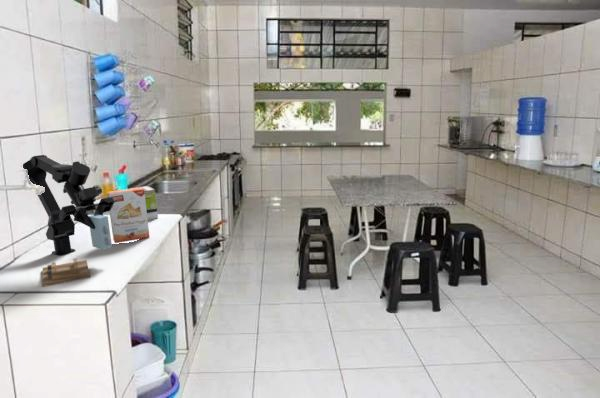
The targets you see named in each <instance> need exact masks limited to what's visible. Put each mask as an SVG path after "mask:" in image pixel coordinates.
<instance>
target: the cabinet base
mask: <svg viewBox="0 0 600 398" xmlns="http://www.w3.org/2000/svg"><path fill="white" fill-rule="evenodd" d="M41 273H42V276H41V287H42V288H43V287H47V286H53V285H58V284H64V283H69V282H72V281H78V280H83V279H88V278H89V279H90V278H91V273H90V269H89V265H88V262H87V259H83V260H78V258H72V262H68V263H67V262H65V263H61V264H56V262H55V261H54V262H51V264H47V266H45V267H42V272H41Z"/></svg>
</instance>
